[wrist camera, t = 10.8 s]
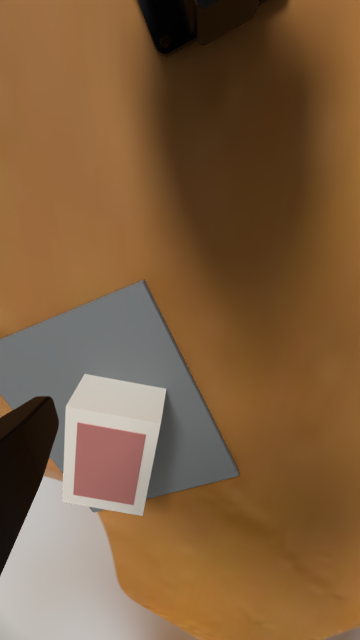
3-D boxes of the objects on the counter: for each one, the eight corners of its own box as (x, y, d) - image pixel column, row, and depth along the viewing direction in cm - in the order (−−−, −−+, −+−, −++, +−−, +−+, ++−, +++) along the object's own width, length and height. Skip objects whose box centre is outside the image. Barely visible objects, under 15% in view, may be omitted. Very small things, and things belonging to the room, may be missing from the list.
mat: (-26, 349, 24) (-31, 354, 23) (144, 279, 21) (142, 282, 20) (95, 506, 30) (93, 512, 30) (238, 469, 27) (239, 475, 27)
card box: (78, 462, 27) (61, 502, 24) (84, 373, 24) (65, 407, 20) (149, 474, 27) (142, 516, 24) (166, 388, 24) (160, 424, 20)
